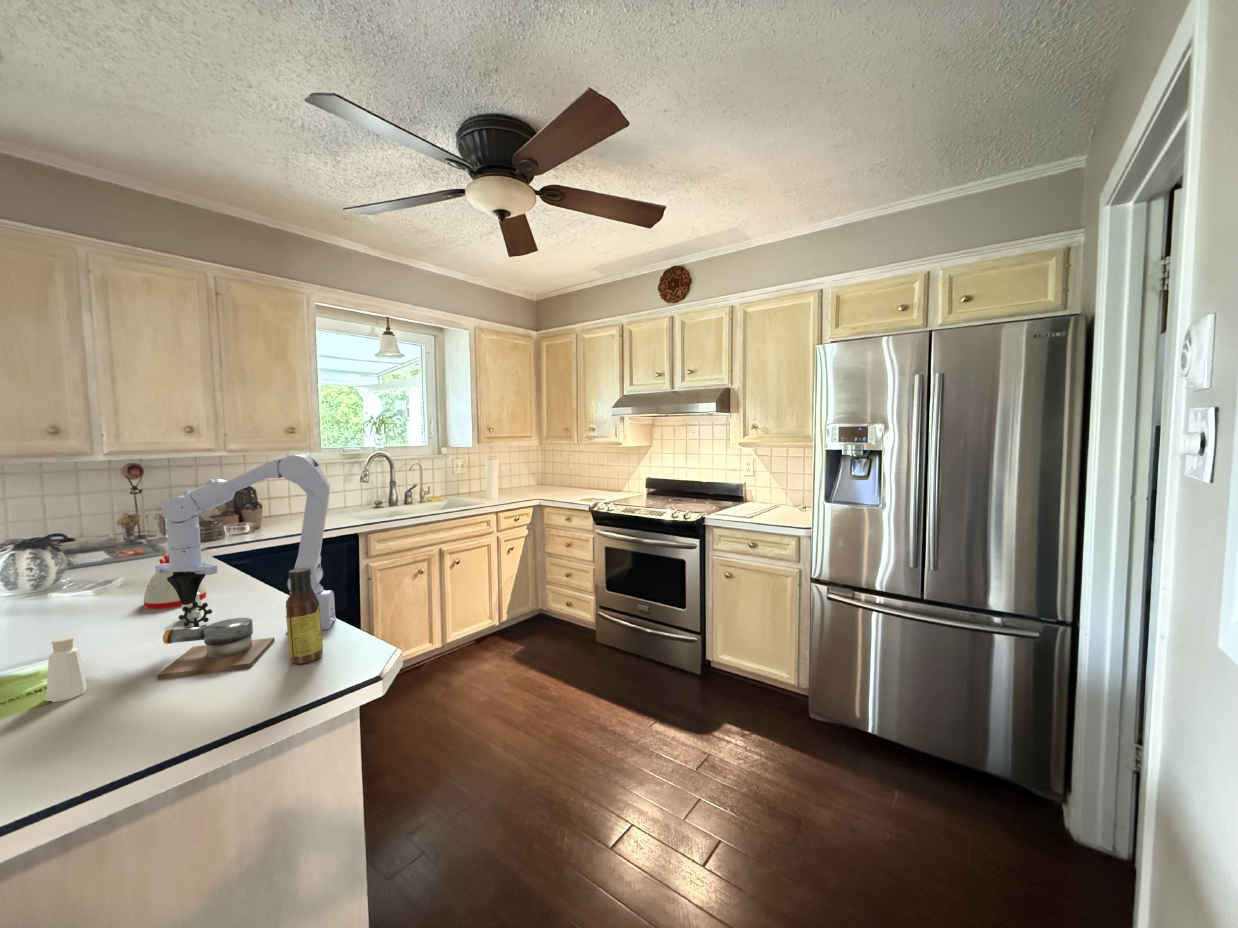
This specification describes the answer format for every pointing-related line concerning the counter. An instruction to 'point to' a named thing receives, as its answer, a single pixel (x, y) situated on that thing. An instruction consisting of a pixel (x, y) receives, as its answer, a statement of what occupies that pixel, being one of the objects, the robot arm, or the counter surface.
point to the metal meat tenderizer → (213, 632)
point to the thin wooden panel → (217, 658)
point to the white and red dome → (164, 591)
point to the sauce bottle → (303, 619)
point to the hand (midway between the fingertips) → (188, 603)
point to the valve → (194, 612)
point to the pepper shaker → (65, 671)
